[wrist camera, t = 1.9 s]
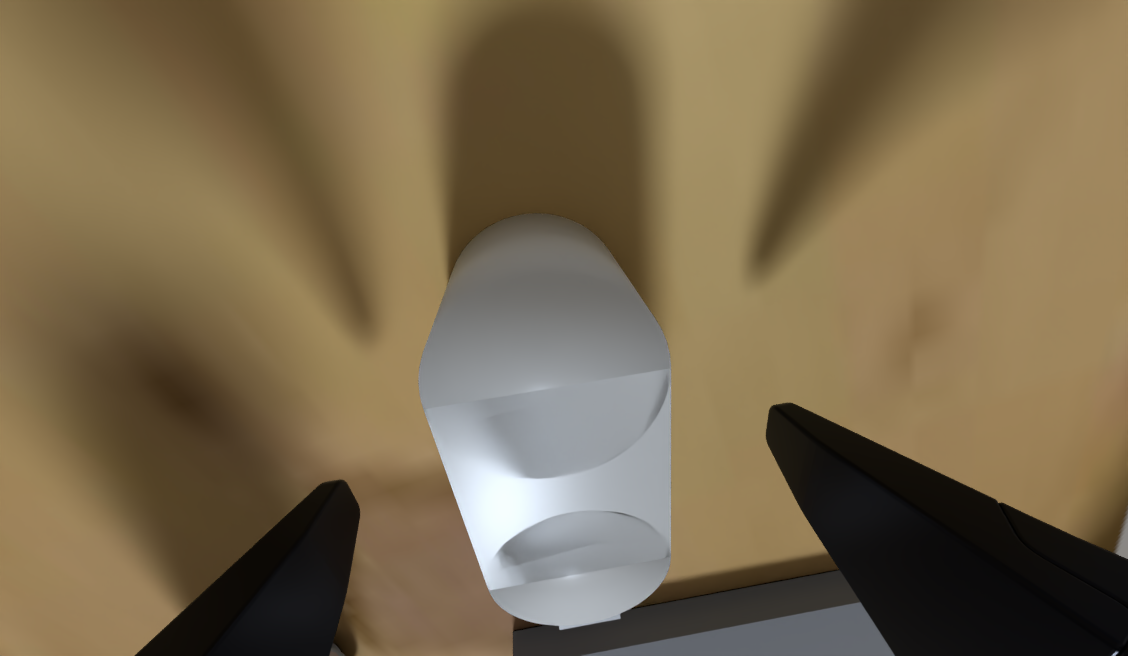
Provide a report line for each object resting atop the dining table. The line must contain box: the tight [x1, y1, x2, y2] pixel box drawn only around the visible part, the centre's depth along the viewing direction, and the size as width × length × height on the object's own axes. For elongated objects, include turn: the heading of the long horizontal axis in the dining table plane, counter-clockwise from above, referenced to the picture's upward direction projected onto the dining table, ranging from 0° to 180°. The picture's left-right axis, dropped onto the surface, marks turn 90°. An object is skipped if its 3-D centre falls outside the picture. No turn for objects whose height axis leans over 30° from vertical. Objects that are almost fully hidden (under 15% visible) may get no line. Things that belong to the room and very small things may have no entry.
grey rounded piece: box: [419, 213, 671, 630], centre depth 10 cm, size 4×11×4 cm, turn 7°
